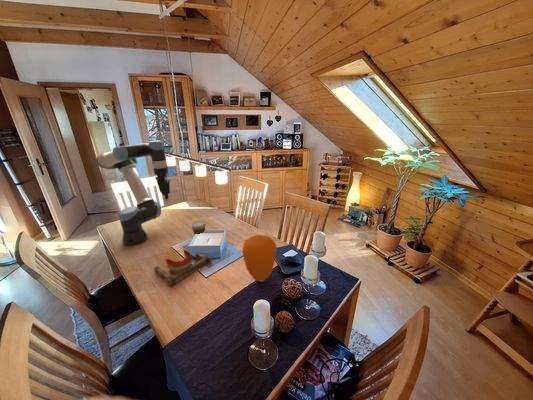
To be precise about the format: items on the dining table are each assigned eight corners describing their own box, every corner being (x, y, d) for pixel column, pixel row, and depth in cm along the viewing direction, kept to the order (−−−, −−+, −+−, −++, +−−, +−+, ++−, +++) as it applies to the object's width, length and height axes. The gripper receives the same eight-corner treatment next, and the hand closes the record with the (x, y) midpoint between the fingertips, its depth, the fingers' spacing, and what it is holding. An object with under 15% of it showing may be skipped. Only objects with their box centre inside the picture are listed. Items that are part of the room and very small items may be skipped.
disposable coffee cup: (203, 243, 154) (201, 227, 149) (190, 241, 155) (188, 226, 151) (209, 236, 162) (207, 221, 158) (197, 234, 164) (195, 220, 160)
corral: (153, 274, 124) (152, 268, 123) (193, 252, 144) (192, 247, 142) (170, 287, 115) (169, 281, 113) (210, 262, 134) (210, 256, 132)
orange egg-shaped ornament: (246, 268, 128) (244, 230, 119) (276, 269, 127) (276, 230, 118) (242, 291, 112) (239, 248, 103) (276, 291, 111) (276, 248, 102)
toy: (178, 279, 121) (176, 266, 118) (167, 271, 126) (165, 260, 124) (197, 266, 130) (195, 255, 127) (186, 260, 136) (184, 249, 133)
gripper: (148, 166, 136) (156, 202, 145) (159, 170, 129) (166, 207, 138) (160, 164, 142) (167, 199, 151) (171, 167, 134) (177, 203, 143)
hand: (166, 203), depth 144 cm, fingers closed
